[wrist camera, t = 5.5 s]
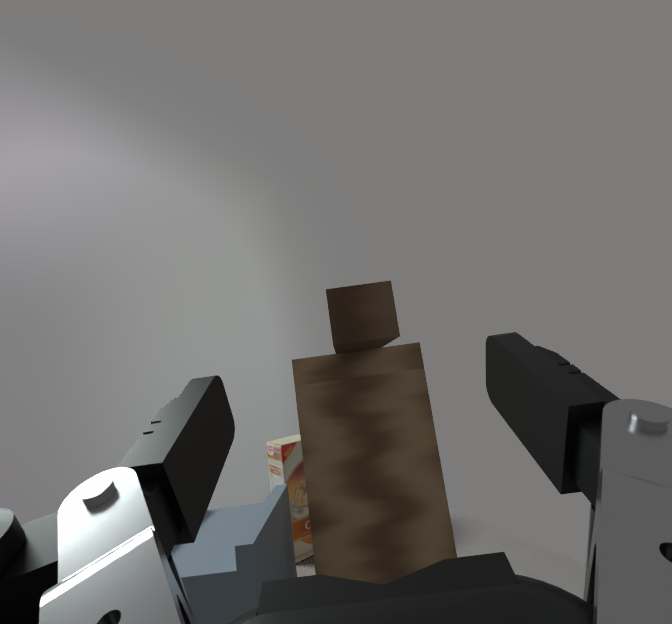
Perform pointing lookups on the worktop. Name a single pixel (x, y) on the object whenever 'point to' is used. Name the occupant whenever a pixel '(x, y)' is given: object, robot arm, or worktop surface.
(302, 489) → the coffeecake box
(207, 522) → the tall grey pillar
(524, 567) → the worktop surface
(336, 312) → the rail
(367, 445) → the slotted wooden post
